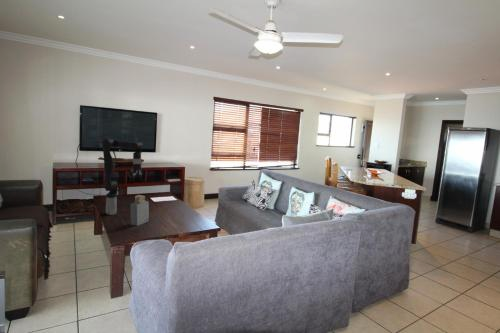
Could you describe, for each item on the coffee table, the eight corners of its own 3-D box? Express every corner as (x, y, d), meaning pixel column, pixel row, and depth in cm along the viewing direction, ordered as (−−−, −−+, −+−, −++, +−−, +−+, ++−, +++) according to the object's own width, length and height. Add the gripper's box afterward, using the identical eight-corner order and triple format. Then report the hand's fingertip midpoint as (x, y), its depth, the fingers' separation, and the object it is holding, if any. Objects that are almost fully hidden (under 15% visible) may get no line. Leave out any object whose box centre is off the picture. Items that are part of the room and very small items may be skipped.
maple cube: (135, 202, 264) (135, 196, 263) (140, 201, 269) (140, 195, 268) (139, 203, 261) (139, 197, 261) (144, 202, 267) (144, 196, 266)
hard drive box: (142, 219, 277) (142, 199, 274) (148, 221, 274) (149, 201, 271) (130, 224, 263) (130, 203, 260) (136, 226, 260) (137, 205, 257)
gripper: (139, 161, 282) (139, 178, 285) (128, 163, 270) (128, 180, 272) (145, 162, 279) (145, 179, 282) (133, 164, 266) (133, 181, 269)
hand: (136, 179), depth 277 cm, fingers open, 8 cm apart
